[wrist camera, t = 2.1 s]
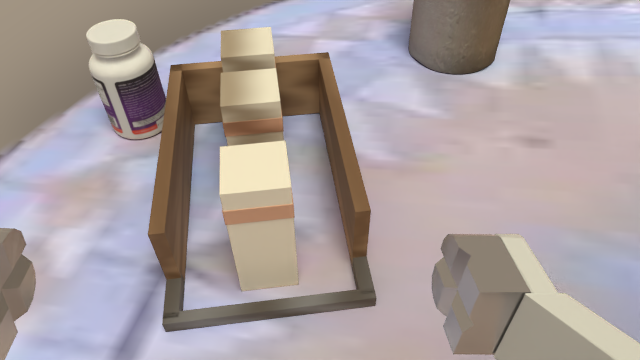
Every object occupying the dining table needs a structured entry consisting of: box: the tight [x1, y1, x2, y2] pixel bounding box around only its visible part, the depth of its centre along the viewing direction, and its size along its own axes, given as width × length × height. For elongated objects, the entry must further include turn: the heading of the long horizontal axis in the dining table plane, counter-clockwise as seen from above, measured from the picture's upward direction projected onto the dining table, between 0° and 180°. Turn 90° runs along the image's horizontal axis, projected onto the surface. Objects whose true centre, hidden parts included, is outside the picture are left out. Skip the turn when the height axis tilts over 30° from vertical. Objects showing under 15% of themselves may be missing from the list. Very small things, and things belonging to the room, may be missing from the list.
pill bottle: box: [86, 19, 166, 139], centre depth 44 cm, size 5×5×10 cm
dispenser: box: [148, 27, 376, 332], centre depth 38 cm, size 14×22×10 cm, turn 8°
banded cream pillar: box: [220, 141, 299, 291], centre depth 33 cm, size 4×4×10 cm
